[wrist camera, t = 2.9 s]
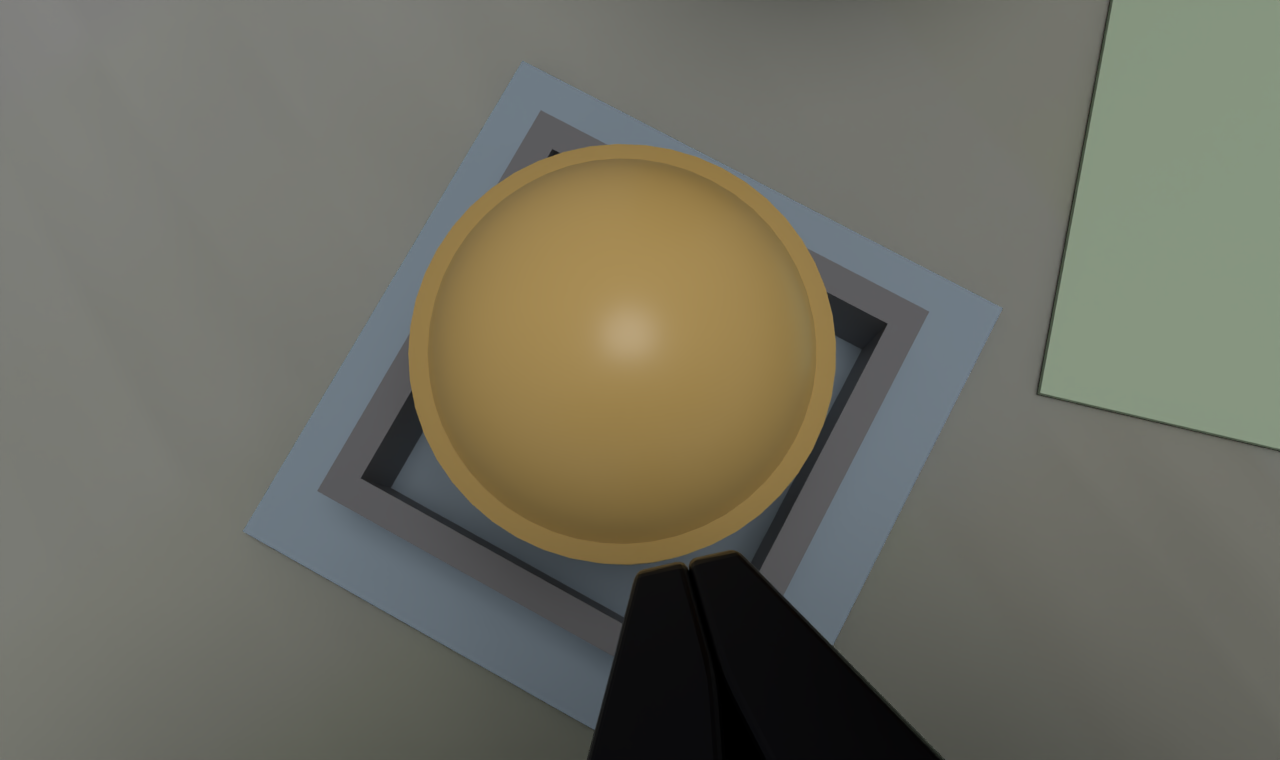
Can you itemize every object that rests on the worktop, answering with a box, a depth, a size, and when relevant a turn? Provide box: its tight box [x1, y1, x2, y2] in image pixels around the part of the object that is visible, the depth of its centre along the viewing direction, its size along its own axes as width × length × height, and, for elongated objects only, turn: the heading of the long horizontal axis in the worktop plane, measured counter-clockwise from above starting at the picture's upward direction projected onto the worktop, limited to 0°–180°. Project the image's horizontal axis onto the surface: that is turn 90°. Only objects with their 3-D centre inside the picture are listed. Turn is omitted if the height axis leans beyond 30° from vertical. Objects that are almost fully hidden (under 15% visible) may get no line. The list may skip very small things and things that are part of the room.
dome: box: [408, 144, 836, 565], centre depth 15 cm, size 5×5×6 cm
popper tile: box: [243, 61, 1003, 730], centre depth 20 cm, size 10×10×3 cm
